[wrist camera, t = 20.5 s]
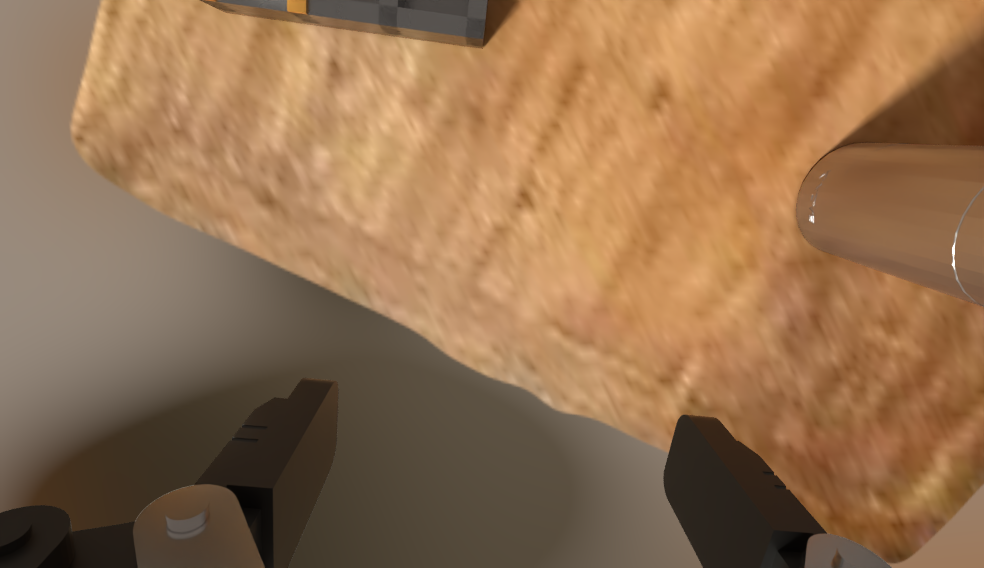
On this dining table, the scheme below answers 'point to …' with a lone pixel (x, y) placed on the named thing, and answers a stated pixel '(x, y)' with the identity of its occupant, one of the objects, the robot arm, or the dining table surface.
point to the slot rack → (377, 16)
